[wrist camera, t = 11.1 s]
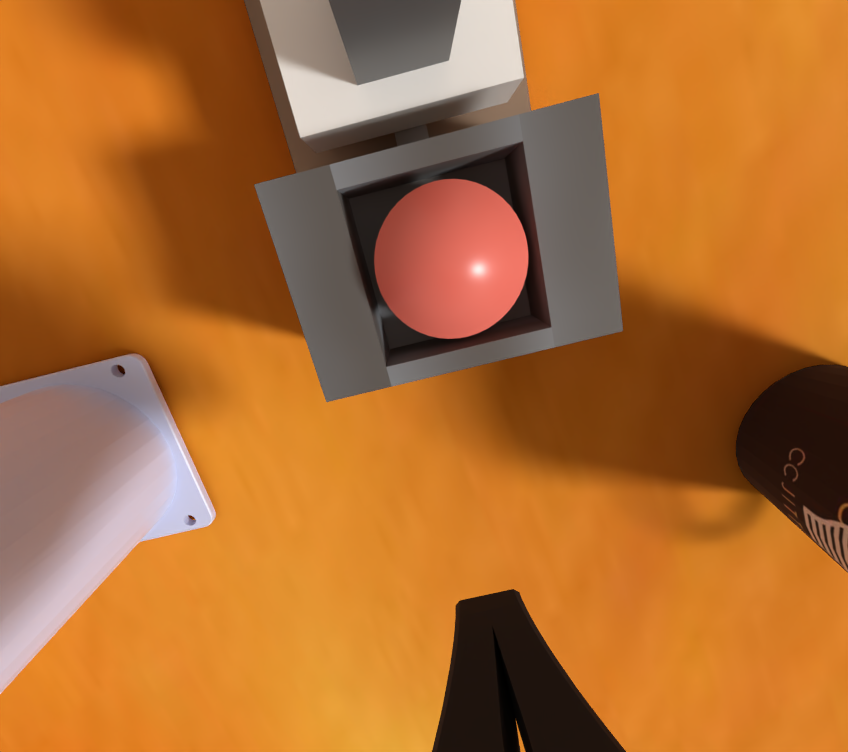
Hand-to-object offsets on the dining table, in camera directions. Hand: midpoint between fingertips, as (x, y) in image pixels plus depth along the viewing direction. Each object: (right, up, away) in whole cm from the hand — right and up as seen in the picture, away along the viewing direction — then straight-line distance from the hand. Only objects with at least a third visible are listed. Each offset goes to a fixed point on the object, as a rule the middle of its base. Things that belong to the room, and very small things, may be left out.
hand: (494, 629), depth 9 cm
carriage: (-2, +15, +3) cm, 16 cm away
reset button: (-1, +9, +1) cm, 9 cm away
